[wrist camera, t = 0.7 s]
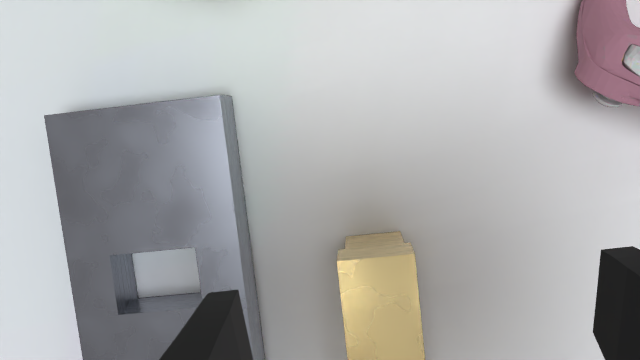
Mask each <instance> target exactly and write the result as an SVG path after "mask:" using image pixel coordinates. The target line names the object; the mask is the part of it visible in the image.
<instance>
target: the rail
mask: <svg viewBox="0 0 640 360" xmlns="http://www.w3.org/2000/svg"><path fill="white" fill-rule="evenodd" d="M44 118H45V124H46V130H47V137H48V143H49V149H50V156H51V162H52V168H53V174H54V181H55V187H56V193H57V199H58V206H59V212H60V218H61V225H62V231H63V237H64V243H65V250H66V256H67V262H68V269H69V275H70V281H71V287H72V294H73V300H74V306H75V312H76V319H77V325H78V331H79V338H80V344H81V350H82V356H83V360H159V359H160V357H161V356H162V355H163V353H164V352H165V351H166V350H167V348H168V347H169V346H170V344H171V343H172V342H173V340H174V339H175V338H176V336H177V335H178V334H179V332H180V331H181V329H182V328H183V327H184V325H185V324H186V322H187V321H188V320H189V318H190V317H191V315H192V314H193V313H194V311H195V310H196V308H197V307H198V305H199V304H200V303H201V301H202V300H203V299H204V297H205V296H206V295H207V294H208V293H210V292H220V291H229V290H238V291H239V295H240V300H241V305H242V309H243V314H244V319H245V323H246V328H247V333H248V337H249V342H250V347H251V351H252V356H253V360H265V355H264V348H263V340H262V332H261V324H260V316H259V308H258V300H257V292H256V284H255V277H254V269H253V261H252V253H251V245H250V237H249V229H248V221H247V213H246V206H245V198H244V190H243V182H242V174H241V166H240V158H239V150H238V142H237V135H236V127H235V119H234V111H233V103H232V96H225V95H214V96H206V97H197V98H189V99H180V100H172V101H163V102H155V103H146V104H138V105H129V106H121V107H112V108H104V109H95V110H87V111H78V112H69V113H61V114H52V115H44ZM191 247H195V251H196V258H197V265H198V273H199V280H200V287H201V293H191V294H180V295H169V296H158V297H147V298H138V295H137V288H136V282H135V275H134V268H133V261H132V255H131V253H140V252H150V251H161V250H171V249H181V248H191Z"/></svg>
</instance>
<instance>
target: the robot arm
mask: <svg viewBox="0 0 640 360" xmlns="http://www.w3.org/2000/svg"><path fill="white" fill-rule="evenodd" d="M593 333H594V336H595V338H596V340H597V342H598V345H599V347H600V349H601V351H602V354H603V356H604V358H605V360H640V250H639V249H637V248H635V247H633V246H632V247H622V248H613V249H604V250H601V256H600V266H599V276H598V287H597V297H596V307H595V317H594V327H593ZM159 360H253V356H252V351H251V347H250V342H249V337H248V333H247V328H246V323H245V319H244V314H243V309H242V305H241V300H240V295H239V291H238V290H229V291H220V292H210V293H208V294H207V295H206V296H205V297H204V299H203V300H202V301H201V303H200V304H199V305H198V307H197V308H196V310H195V311H194V313H193V314H192V315H191V317H190V318H189V320H188V321H187V322H186V324H185V325H184V327H183V328H182V329H181V331H180V332H179V334H178V335H177V336H176V338H175V339H174V340H173V342H172V343H171V344H170V346H169V347H168V348H167V350H166V351H165V352H164V353H163V355H162V356H161V357H160V359H159Z"/></svg>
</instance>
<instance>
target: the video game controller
mask: <svg viewBox="0 0 640 360" xmlns="http://www.w3.org/2000/svg"><path fill="white" fill-rule="evenodd" d="M576 36H577V48H578V60H579V62H578V64H577V67H576V69H575V71H574V72H575V75H576V77H577V79H578V80H579V81H581V82H582V83H583V84H584V85H585V86H587V87H589V88H591V89H593V90H594V92H593V96H594V98H595V99H596V100H597V101H598V102H599V103H600V104H602V105H604V106H607V107H619V106H622V103H625V104H630V105H635V106H640V28H638V27H636V26H635V25H633V24H632V23H631V21H630V19H629V15H628V11H627V7H626V0H582V2H581V5H580V10H579V15H578V23H577V34H576Z"/></svg>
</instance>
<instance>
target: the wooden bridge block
mask: <svg viewBox="0 0 640 360" xmlns="http://www.w3.org/2000/svg"><path fill="white" fill-rule="evenodd" d="M337 269H338V278H339V287H340V296H341V304H342V313H343V322H344V331H345V340H346V349H347V358H348V360H425V353H424V343H423V333H422V323H421V312H420V302H419V292H418V282H417V272H416V261H415V253H414V251H413V248H412V245H411V243H404V241H403V238H402V235H401V232H400V231H398V232H388V233H377V234H367V235H357V236H347V237H346V243H345V249H339V250H338V256H337Z"/></svg>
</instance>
